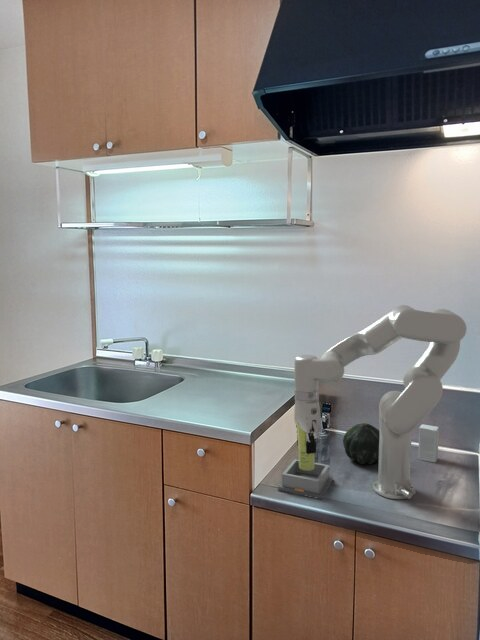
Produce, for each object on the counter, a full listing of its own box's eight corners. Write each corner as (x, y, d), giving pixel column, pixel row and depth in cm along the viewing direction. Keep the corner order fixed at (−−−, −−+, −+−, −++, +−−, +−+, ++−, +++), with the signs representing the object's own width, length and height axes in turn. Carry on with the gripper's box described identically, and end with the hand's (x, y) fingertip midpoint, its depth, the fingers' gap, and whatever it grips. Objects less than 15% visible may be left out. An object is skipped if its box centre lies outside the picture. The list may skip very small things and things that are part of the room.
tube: (298, 471, 157) (298, 412, 154) (296, 464, 162) (295, 407, 159) (316, 471, 157) (316, 411, 155) (313, 464, 162) (313, 406, 160)
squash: (362, 432, 190) (348, 410, 181) (398, 444, 179) (385, 422, 170) (345, 463, 184) (329, 443, 176) (380, 478, 174) (366, 457, 165)
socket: (333, 479, 164) (333, 464, 163) (320, 499, 152) (321, 483, 151) (292, 471, 170) (292, 457, 169) (278, 490, 158) (277, 474, 157)
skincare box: (438, 458, 178) (439, 426, 176) (435, 463, 175) (437, 430, 173) (420, 455, 181) (421, 423, 179) (417, 459, 178) (418, 427, 176)
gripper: (330, 401, 149) (330, 458, 152) (304, 385, 165) (304, 437, 168) (308, 404, 147) (308, 462, 150) (284, 388, 163) (284, 441, 166)
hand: (306, 448), depth 159 cm, fingers closed on tube, 5 cm apart
